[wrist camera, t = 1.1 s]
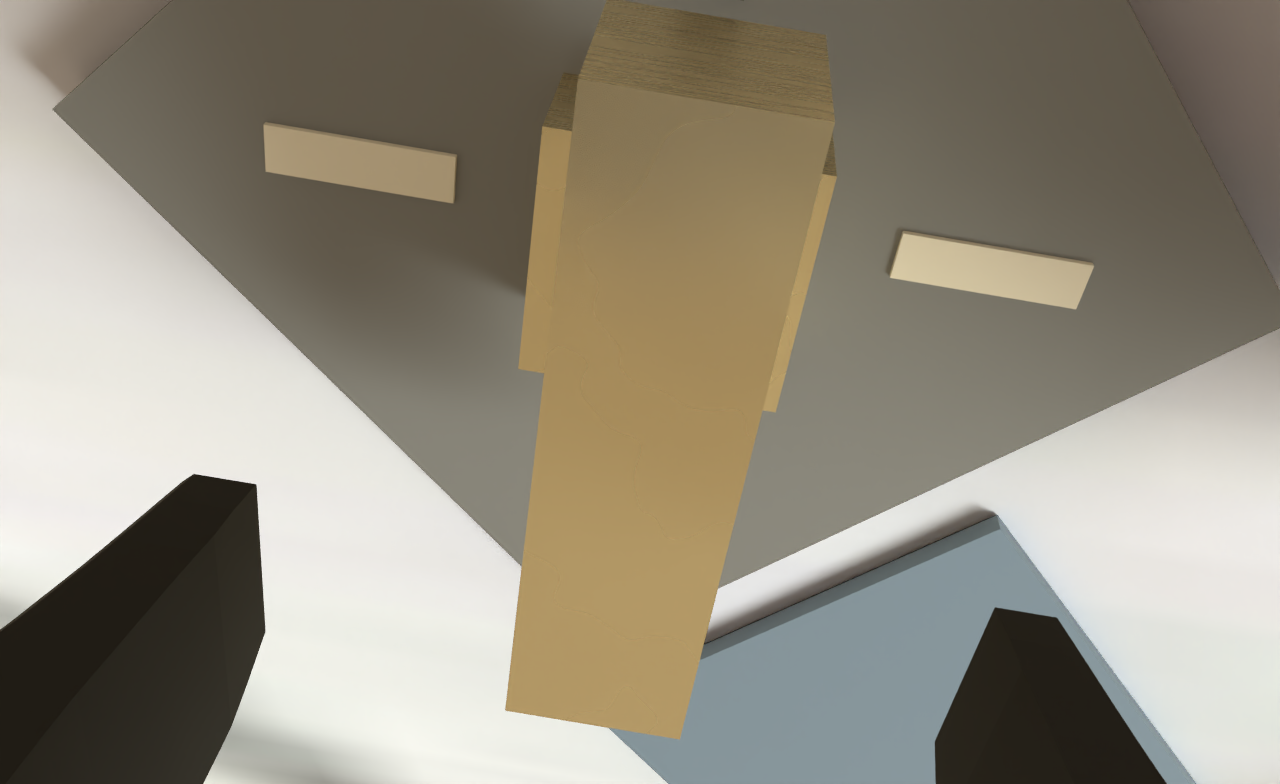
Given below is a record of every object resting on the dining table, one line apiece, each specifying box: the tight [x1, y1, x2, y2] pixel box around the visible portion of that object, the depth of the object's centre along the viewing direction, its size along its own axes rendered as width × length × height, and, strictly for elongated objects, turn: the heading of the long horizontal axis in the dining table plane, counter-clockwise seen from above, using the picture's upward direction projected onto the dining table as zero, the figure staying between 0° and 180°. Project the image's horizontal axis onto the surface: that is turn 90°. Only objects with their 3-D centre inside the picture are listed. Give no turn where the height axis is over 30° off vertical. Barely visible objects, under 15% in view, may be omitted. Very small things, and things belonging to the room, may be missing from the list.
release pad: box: [609, 515, 1196, 784], centre depth 27 cm, size 10×10×1 cm
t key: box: [505, 0, 837, 740], centre depth 16 cm, size 9×4×6 cm, turn 172°
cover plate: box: [53, 0, 1280, 588], centre depth 19 cm, size 14×14×1 cm
